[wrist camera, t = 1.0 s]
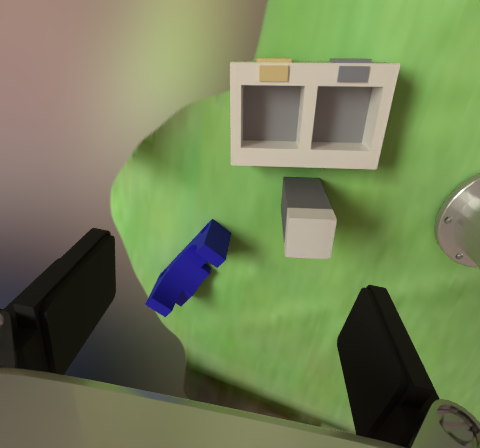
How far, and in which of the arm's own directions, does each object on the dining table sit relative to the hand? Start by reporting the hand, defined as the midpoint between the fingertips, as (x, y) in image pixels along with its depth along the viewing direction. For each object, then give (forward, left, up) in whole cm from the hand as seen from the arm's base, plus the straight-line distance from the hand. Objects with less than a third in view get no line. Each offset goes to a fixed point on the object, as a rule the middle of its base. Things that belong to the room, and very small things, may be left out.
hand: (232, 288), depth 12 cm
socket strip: (-5, -3, -25) cm, 25 cm away
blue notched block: (+7, +16, -25) cm, 30 cm away
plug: (-5, +6, -25) cm, 26 cm away
